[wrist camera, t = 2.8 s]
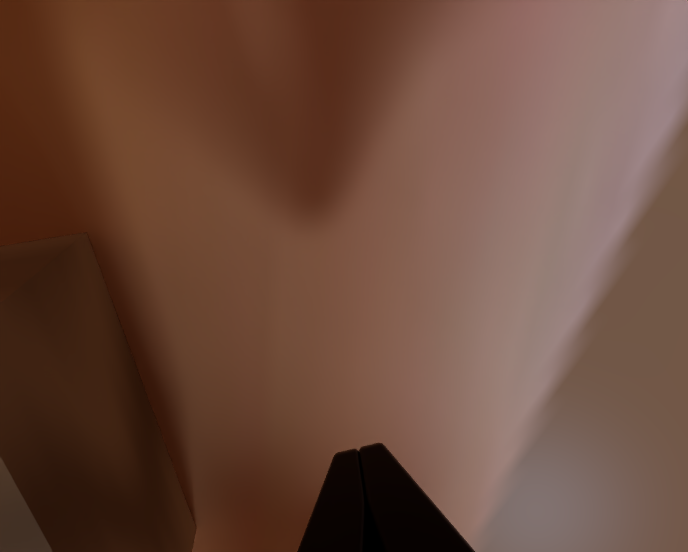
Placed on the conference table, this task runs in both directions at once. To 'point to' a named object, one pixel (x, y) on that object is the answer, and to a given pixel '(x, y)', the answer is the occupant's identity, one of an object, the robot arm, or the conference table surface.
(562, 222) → the conference table surface
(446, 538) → the robot arm
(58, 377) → the walnut block
